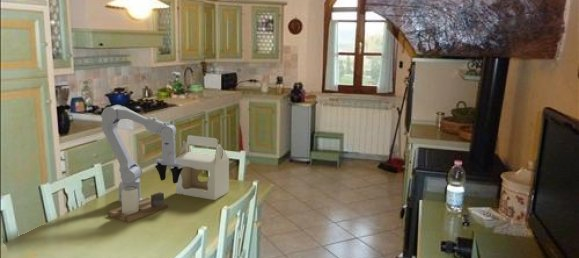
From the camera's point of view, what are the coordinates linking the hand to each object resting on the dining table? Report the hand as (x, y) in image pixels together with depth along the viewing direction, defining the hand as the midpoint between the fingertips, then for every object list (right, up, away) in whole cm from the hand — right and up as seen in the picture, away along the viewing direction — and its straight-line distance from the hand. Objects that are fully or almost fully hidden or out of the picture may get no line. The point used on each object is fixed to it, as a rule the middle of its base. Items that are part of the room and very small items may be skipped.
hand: (169, 181), depth 201 cm
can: (-12, -13, -15) cm, 23 cm away
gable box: (+12, -8, +17) cm, 22 cm away
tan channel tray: (-10, -11, -11) cm, 19 cm away
